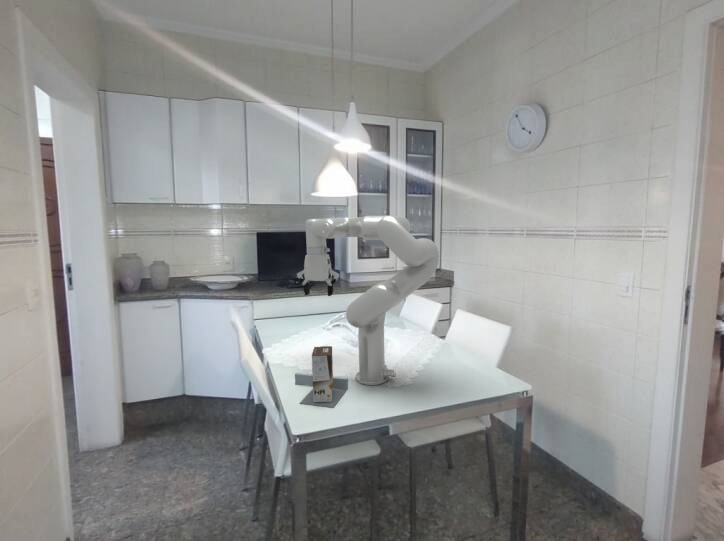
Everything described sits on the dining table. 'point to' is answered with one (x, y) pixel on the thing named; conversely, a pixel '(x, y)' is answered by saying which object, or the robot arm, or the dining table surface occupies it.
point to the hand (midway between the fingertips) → (318, 295)
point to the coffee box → (322, 374)
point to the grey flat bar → (308, 381)
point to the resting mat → (335, 399)
